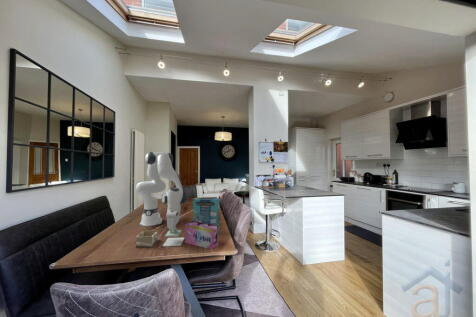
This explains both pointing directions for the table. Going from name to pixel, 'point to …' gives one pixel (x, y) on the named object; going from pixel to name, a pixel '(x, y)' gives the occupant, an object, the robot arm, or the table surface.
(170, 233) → the lid
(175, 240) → the mat
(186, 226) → the gum box
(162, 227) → the table surface
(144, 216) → the robot arm
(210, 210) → the game box
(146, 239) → the box
